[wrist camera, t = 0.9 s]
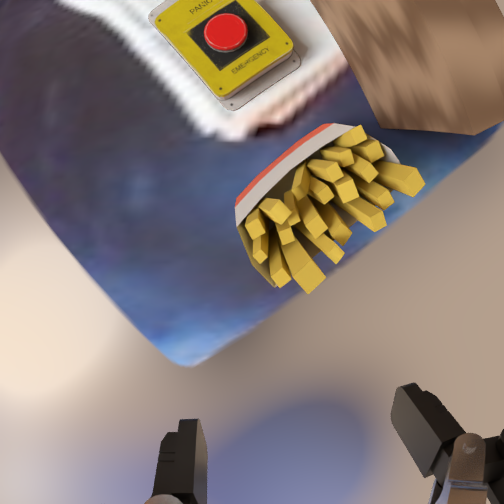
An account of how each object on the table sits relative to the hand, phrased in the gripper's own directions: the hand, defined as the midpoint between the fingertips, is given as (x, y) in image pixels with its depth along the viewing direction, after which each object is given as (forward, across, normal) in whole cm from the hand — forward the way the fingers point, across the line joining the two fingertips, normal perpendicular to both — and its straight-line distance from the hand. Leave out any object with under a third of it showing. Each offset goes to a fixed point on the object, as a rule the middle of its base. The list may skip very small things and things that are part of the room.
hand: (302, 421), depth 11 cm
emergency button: (+23, +1, -24) cm, 33 cm away
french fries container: (+24, -4, -8) cm, 26 cm away
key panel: (+21, -15, -22) cm, 34 cm away
